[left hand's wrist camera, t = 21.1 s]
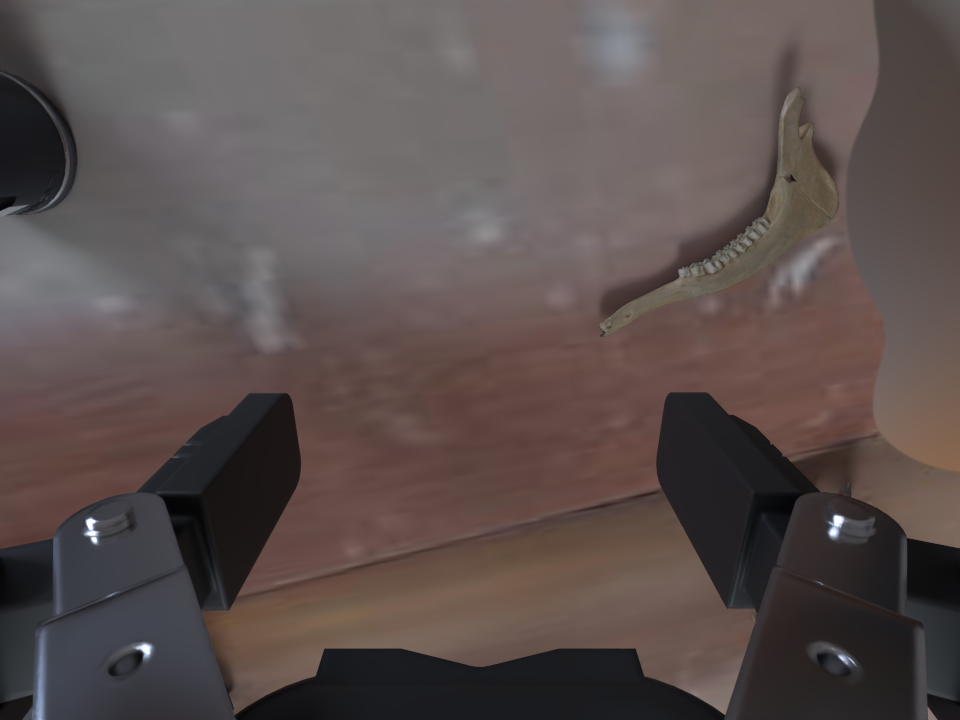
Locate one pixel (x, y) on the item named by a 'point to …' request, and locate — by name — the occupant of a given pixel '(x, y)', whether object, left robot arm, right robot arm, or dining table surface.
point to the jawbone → (757, 223)
